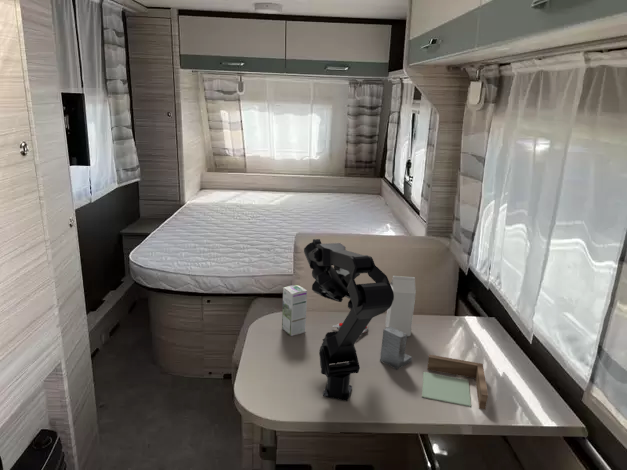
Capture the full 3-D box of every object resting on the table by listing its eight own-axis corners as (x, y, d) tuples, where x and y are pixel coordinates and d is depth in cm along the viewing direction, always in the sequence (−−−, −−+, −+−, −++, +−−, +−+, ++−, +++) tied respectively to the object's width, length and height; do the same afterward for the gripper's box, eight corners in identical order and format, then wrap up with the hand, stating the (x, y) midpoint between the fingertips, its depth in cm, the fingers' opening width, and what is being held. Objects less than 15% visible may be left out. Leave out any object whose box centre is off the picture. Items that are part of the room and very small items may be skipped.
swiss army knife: (331, 339, 150) (331, 333, 150) (332, 319, 163) (333, 313, 163) (368, 342, 150) (368, 336, 149) (366, 322, 163) (367, 316, 162)
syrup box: (305, 332, 153) (308, 290, 149) (290, 336, 150) (292, 293, 146) (296, 325, 157) (298, 283, 153) (280, 329, 154) (282, 286, 150)
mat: (470, 406, 120) (470, 405, 120) (421, 397, 123) (422, 396, 123) (468, 380, 132) (468, 379, 132) (423, 372, 134) (423, 371, 134)
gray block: (396, 369, 135) (400, 337, 132) (380, 360, 139) (383, 329, 136) (411, 361, 140) (415, 330, 137) (394, 353, 144) (398, 322, 141)
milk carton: (410, 336, 154) (417, 281, 149) (388, 335, 154) (394, 280, 149) (406, 326, 161) (413, 273, 156) (385, 325, 161) (391, 272, 156)
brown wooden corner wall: (485, 409, 120) (488, 395, 119) (425, 397, 123) (427, 384, 122) (480, 376, 134) (482, 363, 133) (427, 366, 137) (429, 354, 136)
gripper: (371, 265, 126) (392, 294, 137) (321, 246, 139) (344, 274, 150) (348, 300, 123) (371, 327, 134) (299, 277, 136) (324, 303, 147)
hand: (352, 306), depth 141 cm, fingers open, 9 cm apart
